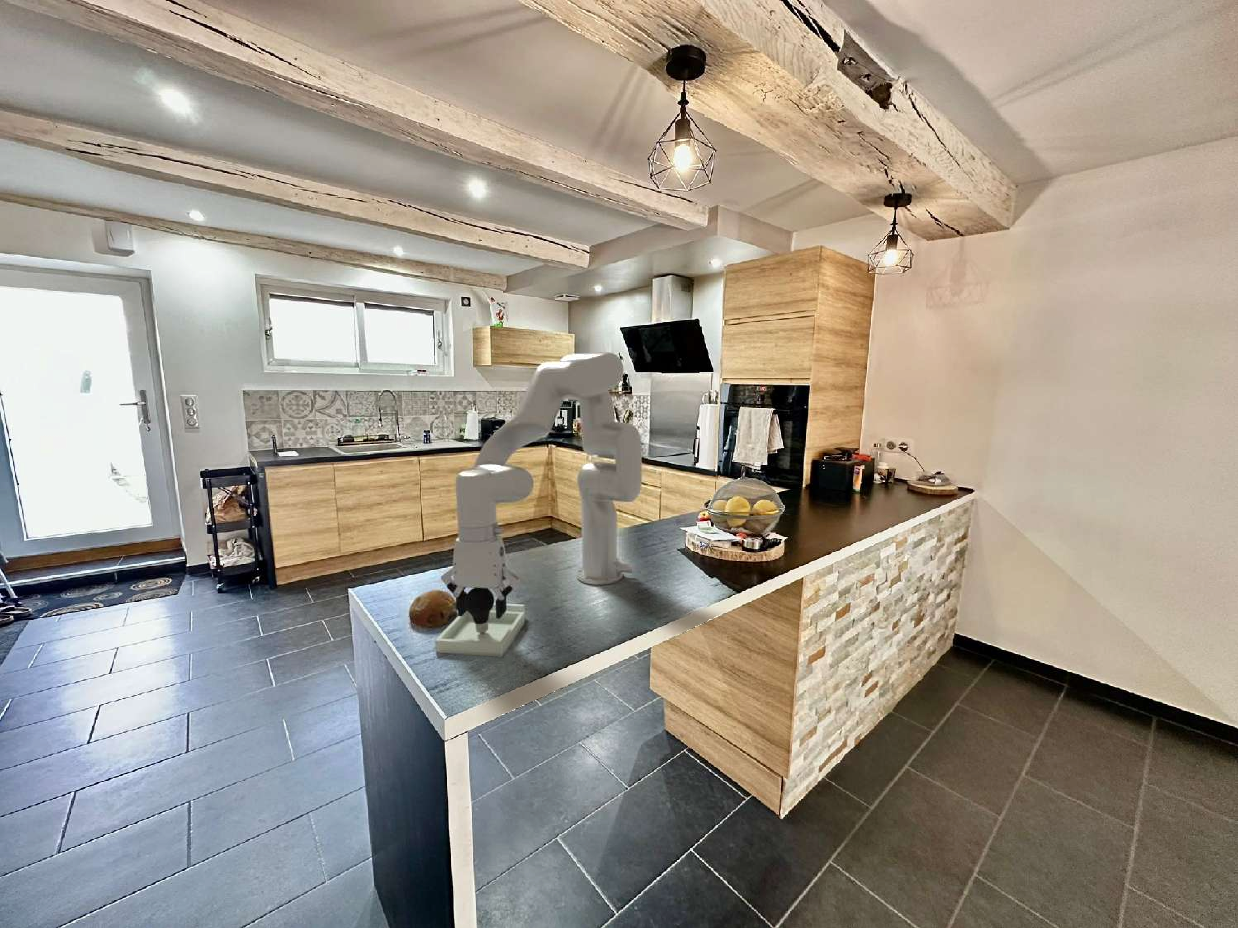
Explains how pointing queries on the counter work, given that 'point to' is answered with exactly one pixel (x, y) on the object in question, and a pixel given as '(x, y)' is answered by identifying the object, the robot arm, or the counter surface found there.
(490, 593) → the light bulb
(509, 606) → the white flat bar
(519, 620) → the dish
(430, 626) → the bread roll
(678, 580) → the counter surface
